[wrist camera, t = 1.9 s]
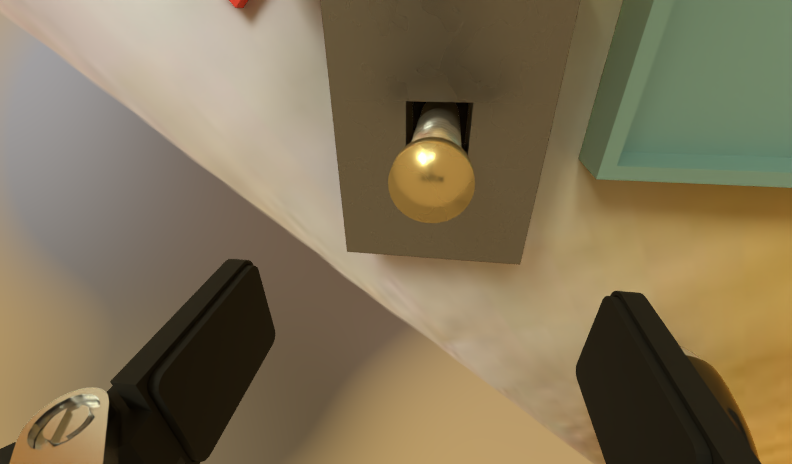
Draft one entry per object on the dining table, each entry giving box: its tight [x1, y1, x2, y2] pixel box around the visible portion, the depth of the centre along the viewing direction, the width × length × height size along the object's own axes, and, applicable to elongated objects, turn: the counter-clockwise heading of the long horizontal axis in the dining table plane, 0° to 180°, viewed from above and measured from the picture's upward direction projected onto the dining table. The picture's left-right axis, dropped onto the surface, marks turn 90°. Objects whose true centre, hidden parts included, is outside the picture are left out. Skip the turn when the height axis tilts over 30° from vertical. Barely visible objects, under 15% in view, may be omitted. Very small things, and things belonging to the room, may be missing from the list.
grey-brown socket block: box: [320, 0, 580, 264], centre depth 25 cm, size 20×14×5 cm
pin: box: [388, 102, 475, 223], centre depth 21 cm, size 4×4×13 cm
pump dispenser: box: [680, 346, 759, 460], centre depth 31 cm, size 10×10×15 cm
